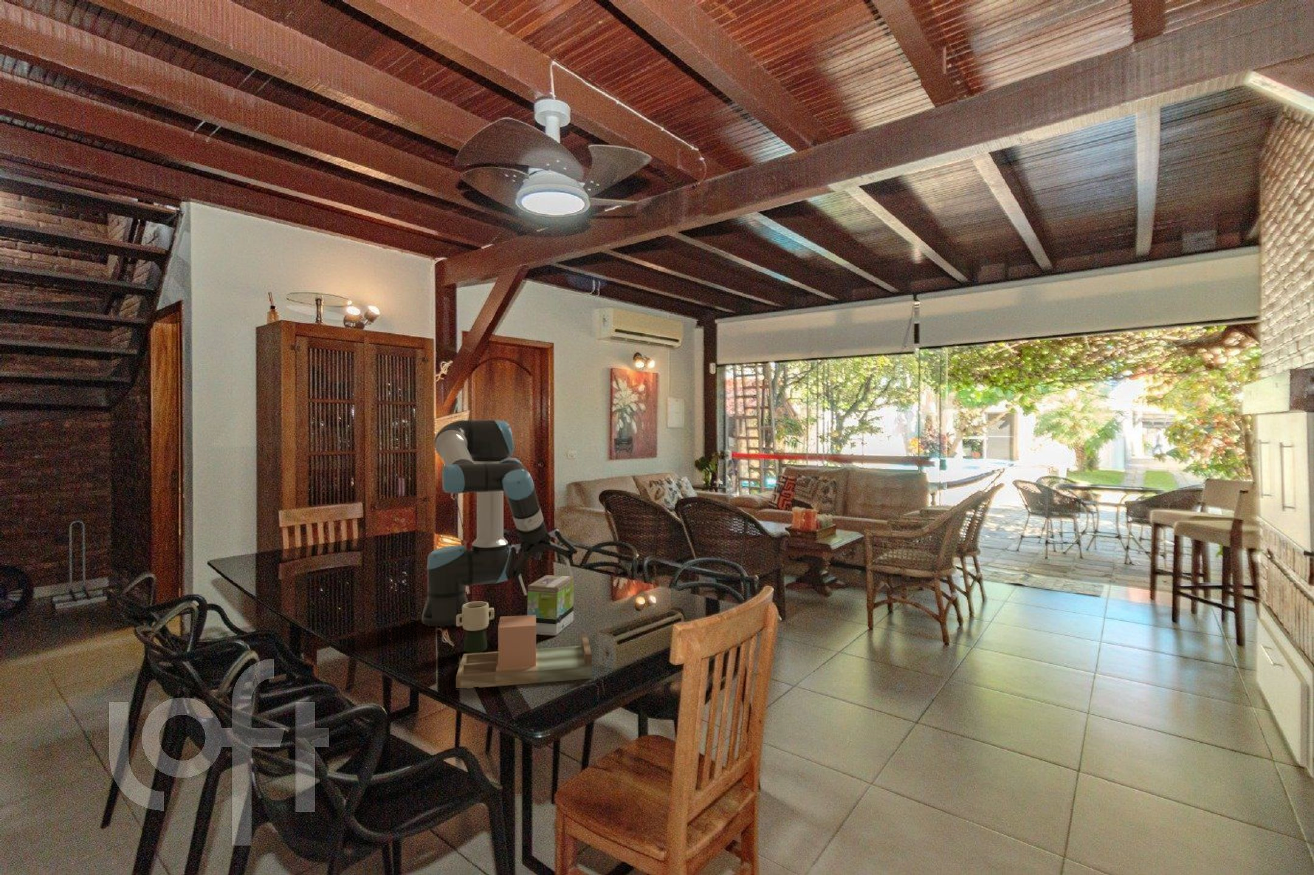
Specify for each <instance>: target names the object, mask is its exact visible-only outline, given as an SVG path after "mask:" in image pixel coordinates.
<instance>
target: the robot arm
mask: <svg viewBox="0 0 1314 875" xmlns="http://www.w3.org/2000/svg"><path fill="white" fill-rule="evenodd" d="M514 443H515V442H514V437H513V432H512V429H511V426H510V424H509V423H508V422H507V421H505V420H496V419H492V420H491V419H490V420H489V419H488V420H486V419H485V420H481V419H480V420H477V419H475V420H474V419H473V420H468V419H467V420H465V419H464V420H463V419H462V420H456V421H452V422H450V423H448V424H446V425H444V426H443V427H442V428H441V429H439V431H438V432H437V433H436V435H435V437H434V449H435V451H436V453H437V455H438V456H439V457H440V458H442V460H443V463H444V466H443V467H442V469H441V470H442V471H441V485H442V491H443V492H444V493H446V494H457V495H458V494H468V493H470V494H471V493H476V538H475V539H474V541H473V542H472V543H471V549H467V548H466V546H465V545H461V544H459V545H458V544H457V545H449V546H445V547H440V548H437V549H434V550H432V551H431V552H430V553H429V554H428V556H427V564H426V570H427V599H426V601H425V604H424V608H423V610H422V615H421V624H422V623H423V624H425V625H424V626H426V625H429V626H428V627H430V626H440V627H439V628H442V627H441V626H448V627H453V626H452V625H454V626H456V616H457V615H458V614H462V606H463V604H465V603H469V601H468V598H467V595H466V594H467V592H466V587H469V586H476V585H477V586H478V585H488V584H494V585H495V584H497V583H502V582H506V581H508V580H511V579H514V582H515V585H516V586H517V587H521V589H522V592H523V595H524V596H528V591H527V589H526V587H525V584H524V581H523V578H522V574H521V573H522V571H523V569H524V567H525V565H526V563H527V561H528V560H530V558H531V556H532V555H537V554H538V553H542V552H545V550H548V551H553V552H554V553H556V554H559V555H562V556H563V557H564V562H565V565H566V570H567V572H568V574H569V575H568V576H570V577H574V573H573V571H572V566H574V565H575V564H574V559H573V555H576V554H578V550H577V548H576V545H574V544H573V543H572V542H571V541H570V540H568V539H567V538H566V537H565V536H564V535H562V533H560V531H559V527H554V528H553V530H552V531H548V530H547V525H546V521H545V519H544V516H543V513H542V510H541V505H540V503H539V499H538V495H537V492H536V491H537V490H536V488H535V481H533V478H532V476H531V473H530V472H529V471H528V470H527V469H526V466H524V464H523V463H522V462H521V460H519V459H518V458H515V457H511V456H513V454H514V447H515V444H514ZM509 456H510V457H509ZM504 495H505V497H506V501H507V503H508V506H509V508H510V509H509V510H510V512H511V516H512V519H513V522H514V525H515V528H516V532H517V536H518V537H519V543H517V544H514V543H510V544H509V542H508V540H507V539H506V538H505V537H504ZM552 538H554V539H557V540H558V541H559V542H560V543H561V544H562V545H563V546H564V547H563V546H561V545H559V544H557V543H554V542H553V541H551V539H552ZM520 549H521V550H522V552H521V554H520V556H519V558H518V560H517V563H516V559H517V554H519V551H520ZM460 622H462V617H460ZM423 624H422V625H423Z"/></svg>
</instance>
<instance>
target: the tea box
mask: <svg viewBox="0 0 1314 875" xmlns="http://www.w3.org/2000/svg"><path fill="white" fill-rule="evenodd" d="M574 595H575V578H574V576H573V577H570V575H551V574H550V575H549V574H546V575H543V576H542V577H540V578H538V579H537V580H535V581H534V582H531V583H529V584H528V585H527V611H526V613H527V614H526V615H536V635H542V636H557V635H558V634H559V633H561V632H562V631H564V630H565V628H567V627H568V626H569V625H570V624H571V623H573V621H574V616H575V614H574V611H575V610H574V609H575V608H574V605H575V603H574V602H575V598H574V597H575V596H574Z"/></svg>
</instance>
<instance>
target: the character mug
mask: <svg viewBox="0 0 1314 875" xmlns="http://www.w3.org/2000/svg"><path fill="white" fill-rule="evenodd" d="M489 613H490V615H489ZM460 617H462V622H460ZM494 619H495V608H494V607H490V605H489V602H487V601H481V600H480V601H478V600H477V601H476V600H475V601H470V602H469V601H468V603H465V604H463V606H462V614H458V615H457V616H456V625H455V626H456V627H462V628H463V630H465V636H464V642H463V651H464V652H466V653H469V654H471V653H484V651H486V650H487V649H488V641H487V634H486V631H485V629H487V628H488V626H489V624H490V622H489V621H491V620H494Z"/></svg>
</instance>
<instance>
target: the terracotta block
mask: <svg viewBox="0 0 1314 875" xmlns="http://www.w3.org/2000/svg"><path fill="white" fill-rule="evenodd" d="M499 617H500V618H499V622H498V625H497V626H498V627H497V636H498V638H497V644H498V645H497V646H498V647H497V652H498V669H501V668H515V667H528V666H536V649H537V634H536V615H527V614H525V615H511V616H510V615H509V616H499Z"/></svg>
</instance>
